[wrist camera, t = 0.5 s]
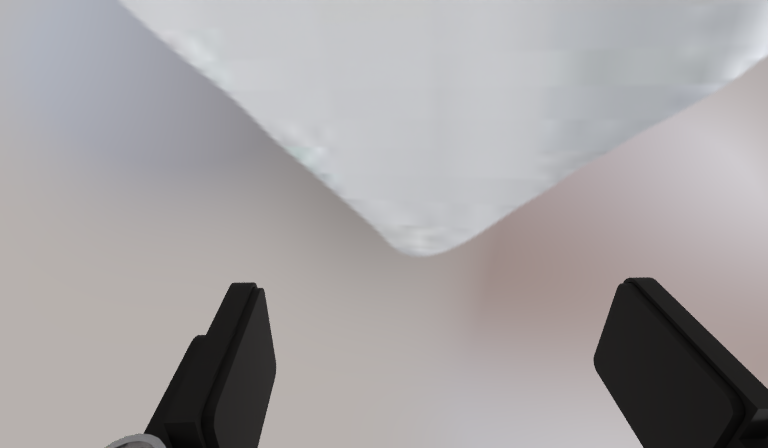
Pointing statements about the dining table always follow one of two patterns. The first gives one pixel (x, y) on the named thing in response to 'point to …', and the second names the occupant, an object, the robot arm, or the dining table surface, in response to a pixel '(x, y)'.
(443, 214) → the dining table surface
